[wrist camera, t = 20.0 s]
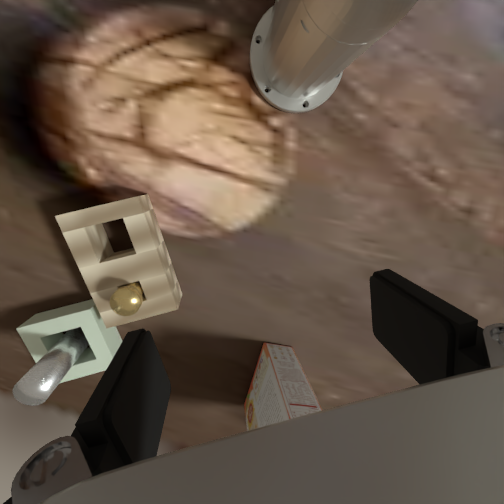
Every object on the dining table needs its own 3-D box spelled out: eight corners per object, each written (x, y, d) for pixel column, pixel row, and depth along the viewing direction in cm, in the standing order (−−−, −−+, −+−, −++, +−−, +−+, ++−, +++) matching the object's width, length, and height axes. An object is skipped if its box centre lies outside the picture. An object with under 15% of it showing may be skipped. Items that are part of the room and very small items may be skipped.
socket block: (76, 211, 36) (54, 216, 31) (148, 194, 36) (137, 196, 31) (119, 310, 40) (106, 328, 36) (182, 294, 41) (177, 309, 36)
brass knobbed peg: (125, 272, 39) (104, 294, 31) (149, 266, 39) (134, 286, 32) (134, 293, 40) (116, 319, 32) (157, 287, 40) (144, 311, 33)
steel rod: (66, 325, 40) (6, 384, 28) (90, 319, 40) (39, 375, 29) (76, 344, 41) (22, 409, 29) (99, 338, 41) (54, 400, 30)
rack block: (35, 313, 39) (15, 328, 35) (102, 296, 39) (90, 309, 35) (64, 367, 42) (49, 385, 38) (126, 349, 42) (117, 367, 38)
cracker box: (272, 407, 50) (310, 560, 30) (242, 404, 48) (261, 561, 28) (295, 345, 46) (354, 470, 27) (263, 340, 45) (300, 467, 25)
